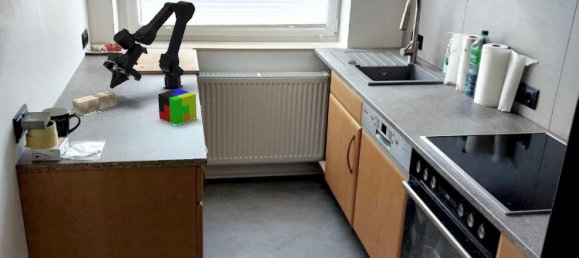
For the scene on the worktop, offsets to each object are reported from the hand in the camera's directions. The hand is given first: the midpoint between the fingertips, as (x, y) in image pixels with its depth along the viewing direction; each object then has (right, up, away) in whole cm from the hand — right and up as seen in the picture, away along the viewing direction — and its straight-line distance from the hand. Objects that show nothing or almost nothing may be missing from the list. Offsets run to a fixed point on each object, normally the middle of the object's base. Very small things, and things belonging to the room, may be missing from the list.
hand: (110, 88), depth 214 cm
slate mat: (-2, -8, 0) cm, 8 cm away
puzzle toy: (+29, -13, -8) cm, 33 cm away
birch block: (0, -4, +2) cm, 4 cm away
